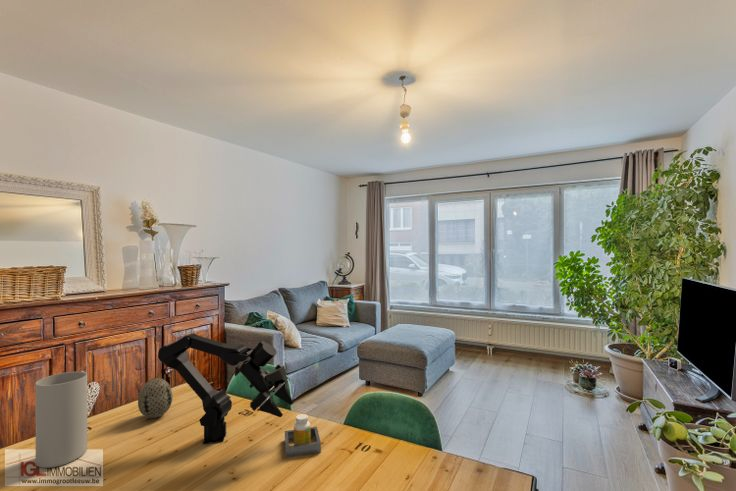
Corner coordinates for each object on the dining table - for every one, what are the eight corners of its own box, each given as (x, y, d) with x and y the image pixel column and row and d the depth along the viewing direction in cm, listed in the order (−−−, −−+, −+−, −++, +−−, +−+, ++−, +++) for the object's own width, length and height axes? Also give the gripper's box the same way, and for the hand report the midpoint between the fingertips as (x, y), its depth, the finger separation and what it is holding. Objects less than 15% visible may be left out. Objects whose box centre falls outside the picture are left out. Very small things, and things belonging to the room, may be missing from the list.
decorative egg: (161, 423, 135) (161, 384, 136) (130, 424, 136) (130, 384, 136) (178, 410, 147) (178, 373, 147) (150, 410, 147) (150, 373, 148)
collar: (285, 457, 113) (285, 448, 113) (284, 439, 123) (284, 431, 123) (320, 452, 116) (320, 442, 116) (316, 435, 126) (316, 426, 126)
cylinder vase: (96, 450, 118) (96, 373, 118) (52, 472, 106) (52, 387, 106) (70, 443, 122) (70, 369, 122) (25, 464, 110) (25, 382, 110)
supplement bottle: (306, 451, 116) (306, 421, 116) (291, 449, 117) (291, 419, 117) (312, 442, 122) (312, 413, 122) (297, 440, 123) (297, 412, 123)
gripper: (258, 368, 112) (293, 405, 110) (282, 351, 131) (312, 383, 129) (235, 392, 113) (269, 429, 112) (262, 372, 132) (291, 404, 130)
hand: (287, 409), depth 120 cm, fingers open, 9 cm apart
